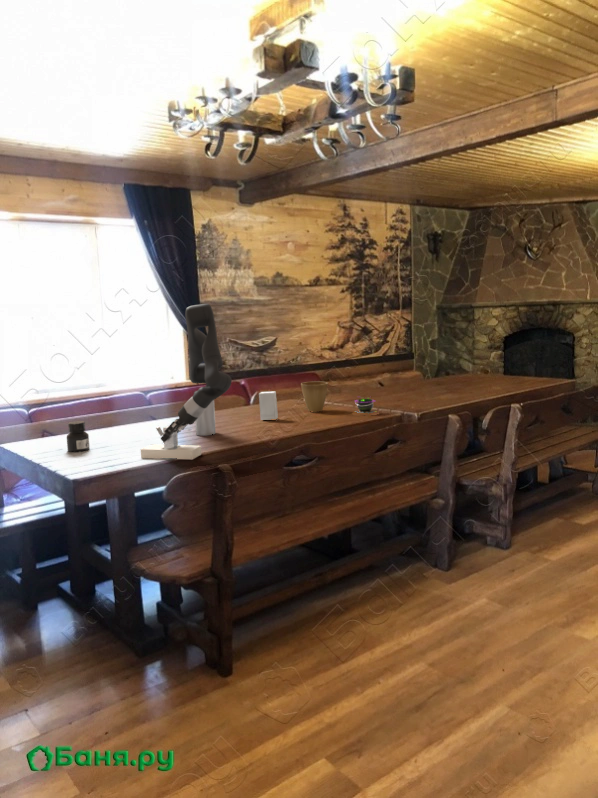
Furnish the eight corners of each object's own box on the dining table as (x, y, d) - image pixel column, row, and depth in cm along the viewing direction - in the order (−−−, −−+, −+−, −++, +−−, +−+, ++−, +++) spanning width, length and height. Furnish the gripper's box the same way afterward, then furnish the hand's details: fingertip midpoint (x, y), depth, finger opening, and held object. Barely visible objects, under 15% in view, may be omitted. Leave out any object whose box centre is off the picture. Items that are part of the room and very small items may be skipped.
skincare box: (278, 419, 331) (277, 391, 329) (275, 421, 325) (274, 392, 323) (262, 419, 333) (261, 391, 331) (259, 421, 327) (258, 392, 325)
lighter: (172, 442, 281) (170, 424, 279) (173, 442, 279) (172, 424, 278) (156, 444, 277) (155, 426, 276) (158, 444, 275) (156, 426, 274)
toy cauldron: (346, 414, 338) (345, 394, 337) (360, 410, 351) (359, 391, 349) (370, 417, 330) (370, 396, 328) (384, 412, 342) (384, 392, 340)
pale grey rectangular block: (170, 454, 256) (169, 425, 254) (178, 454, 255) (176, 425, 253) (164, 457, 251) (163, 427, 249) (172, 457, 250) (171, 427, 248)
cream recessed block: (151, 452, 260) (151, 444, 259) (201, 454, 254) (201, 445, 254) (141, 457, 251) (140, 449, 251) (192, 459, 246) (191, 450, 245)
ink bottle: (82, 452, 264) (80, 424, 263) (63, 452, 266) (60, 424, 264) (93, 447, 274) (91, 420, 272) (75, 447, 275) (72, 420, 274)
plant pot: (300, 410, 359) (299, 382, 357) (326, 408, 360) (325, 380, 358) (303, 414, 344) (302, 385, 342) (330, 412, 346) (329, 383, 343)
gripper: (193, 400, 255) (168, 428, 259) (177, 406, 241) (151, 435, 246) (206, 413, 254) (181, 441, 259) (191, 419, 240) (165, 449, 245)
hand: (166, 438), depth 252 cm, fingers open, 7 cm apart
